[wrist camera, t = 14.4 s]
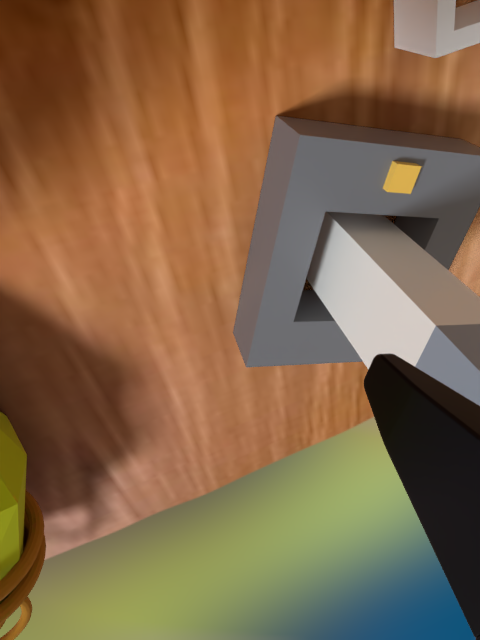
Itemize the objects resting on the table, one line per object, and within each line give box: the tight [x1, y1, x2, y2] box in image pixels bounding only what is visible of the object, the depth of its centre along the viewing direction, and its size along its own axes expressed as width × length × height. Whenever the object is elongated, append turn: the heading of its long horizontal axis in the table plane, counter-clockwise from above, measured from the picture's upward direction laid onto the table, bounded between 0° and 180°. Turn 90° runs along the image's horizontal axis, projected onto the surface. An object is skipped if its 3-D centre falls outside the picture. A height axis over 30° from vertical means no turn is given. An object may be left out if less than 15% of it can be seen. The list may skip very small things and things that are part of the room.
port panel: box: [233, 116, 480, 367], centre depth 23 cm, size 10×12×3 cm
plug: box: [306, 212, 480, 406], centre depth 19 cm, size 3×4×13 cm
